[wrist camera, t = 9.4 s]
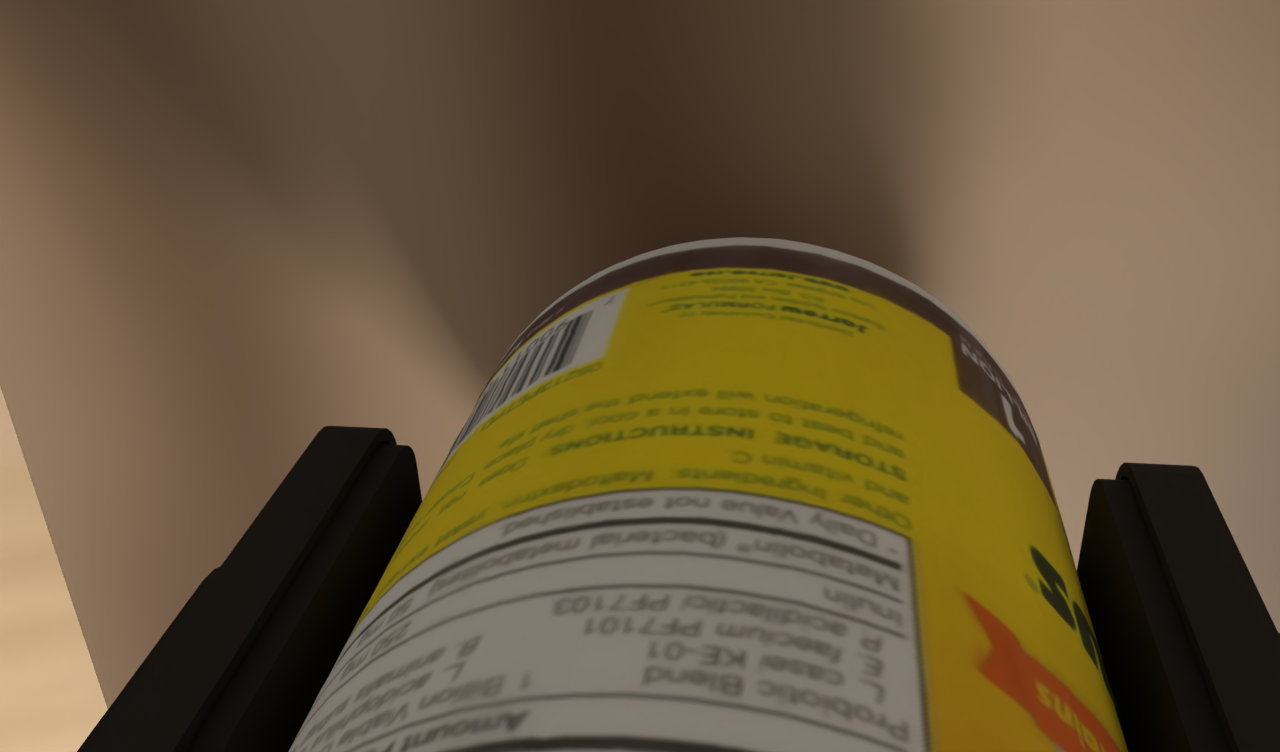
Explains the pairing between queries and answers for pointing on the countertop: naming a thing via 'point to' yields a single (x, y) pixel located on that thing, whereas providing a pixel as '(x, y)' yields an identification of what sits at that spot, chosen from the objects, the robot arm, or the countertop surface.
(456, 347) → the walnut riser
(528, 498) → the supplement bottle
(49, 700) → the countertop surface
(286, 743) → the robot arm
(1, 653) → the countertop surface
